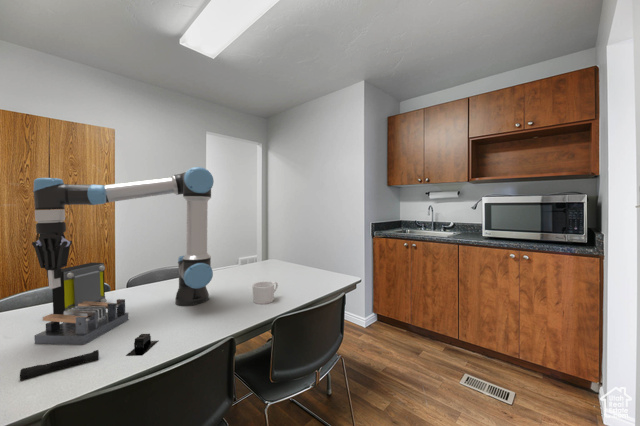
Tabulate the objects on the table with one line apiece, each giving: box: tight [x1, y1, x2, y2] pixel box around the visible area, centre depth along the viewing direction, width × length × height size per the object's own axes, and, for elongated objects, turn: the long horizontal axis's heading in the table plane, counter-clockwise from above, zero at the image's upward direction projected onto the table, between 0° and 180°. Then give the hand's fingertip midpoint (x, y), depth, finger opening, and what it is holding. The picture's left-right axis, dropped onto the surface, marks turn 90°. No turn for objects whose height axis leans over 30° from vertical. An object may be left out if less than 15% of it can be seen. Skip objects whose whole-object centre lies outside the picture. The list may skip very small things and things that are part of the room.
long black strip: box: [19, 349, 100, 381], centre depth 79 cm, size 3×16×3 cm, turn 125°
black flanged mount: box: [125, 333, 159, 357], centre depth 90 cm, size 12×7×5 cm, turn 2°
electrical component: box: [51, 262, 107, 315], centre depth 124 cm, size 18×10×20 cm, turn 168°
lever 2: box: [78, 301, 117, 310], centre depth 109 cm, size 14×3×1 cm, turn 87°
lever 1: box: [42, 313, 88, 323], centre depth 96 cm, size 14×3×1 cm, turn 87°
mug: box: [252, 281, 279, 305], centre depth 134 cm, size 13×10×8 cm
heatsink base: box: [33, 298, 130, 346], centre depth 102 cm, size 18×20×9 cm
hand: (54, 287), depth 96 cm, fingers closed
